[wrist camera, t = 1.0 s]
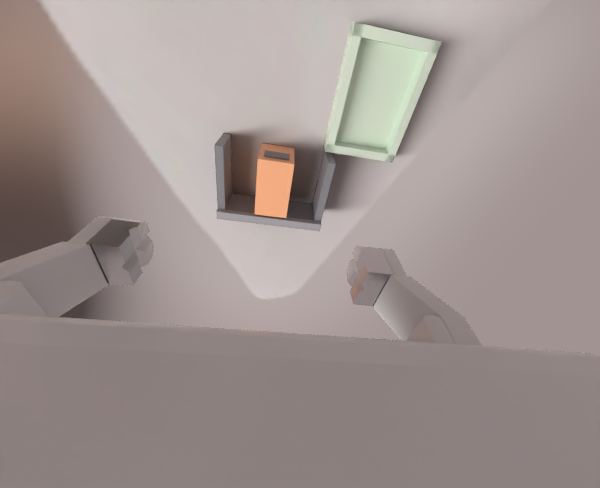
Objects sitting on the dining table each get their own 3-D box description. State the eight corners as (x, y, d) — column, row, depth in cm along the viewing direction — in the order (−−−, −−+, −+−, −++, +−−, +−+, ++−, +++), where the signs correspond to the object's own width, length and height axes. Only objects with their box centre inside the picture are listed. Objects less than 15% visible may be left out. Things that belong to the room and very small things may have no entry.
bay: (223, 133, 33) (212, 147, 29) (331, 150, 35) (336, 166, 31) (225, 198, 40) (216, 218, 35) (316, 210, 41) (319, 231, 37)
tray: (350, 23, 27) (354, 22, 25) (432, 41, 28) (441, 42, 26) (323, 145, 35) (325, 151, 33) (387, 156, 36) (392, 162, 34)
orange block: (262, 140, 34) (257, 156, 30) (294, 146, 35) (294, 162, 30) (259, 193, 39) (254, 214, 35) (286, 197, 40) (286, 218, 35)
